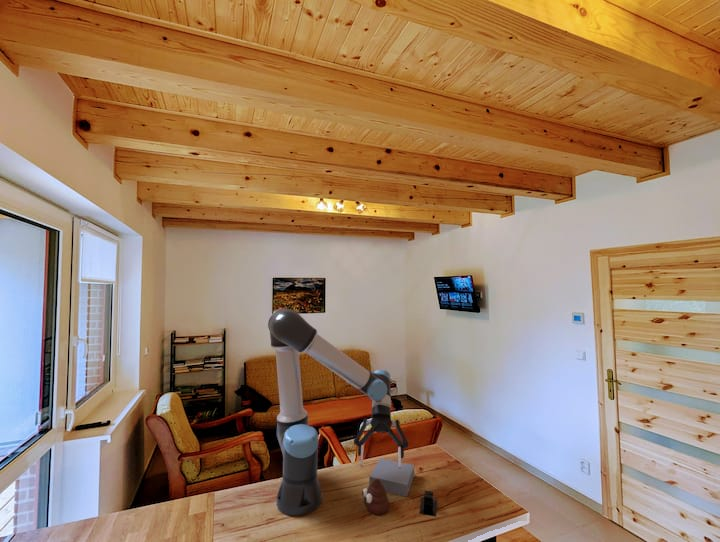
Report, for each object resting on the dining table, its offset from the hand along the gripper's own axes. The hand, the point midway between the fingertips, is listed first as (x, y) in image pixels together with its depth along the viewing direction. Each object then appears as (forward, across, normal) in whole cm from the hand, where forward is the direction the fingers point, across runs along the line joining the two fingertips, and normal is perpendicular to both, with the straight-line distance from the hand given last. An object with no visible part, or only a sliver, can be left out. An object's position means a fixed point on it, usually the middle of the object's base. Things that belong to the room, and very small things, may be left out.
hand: (380, 467), depth 118 cm
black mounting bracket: (+10, -16, -4) cm, 20 cm away
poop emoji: (+11, +2, -3) cm, 12 cm away
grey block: (+1, -5, -13) cm, 14 cm away
